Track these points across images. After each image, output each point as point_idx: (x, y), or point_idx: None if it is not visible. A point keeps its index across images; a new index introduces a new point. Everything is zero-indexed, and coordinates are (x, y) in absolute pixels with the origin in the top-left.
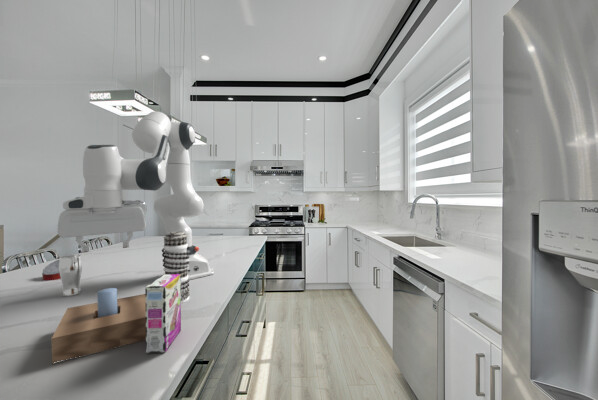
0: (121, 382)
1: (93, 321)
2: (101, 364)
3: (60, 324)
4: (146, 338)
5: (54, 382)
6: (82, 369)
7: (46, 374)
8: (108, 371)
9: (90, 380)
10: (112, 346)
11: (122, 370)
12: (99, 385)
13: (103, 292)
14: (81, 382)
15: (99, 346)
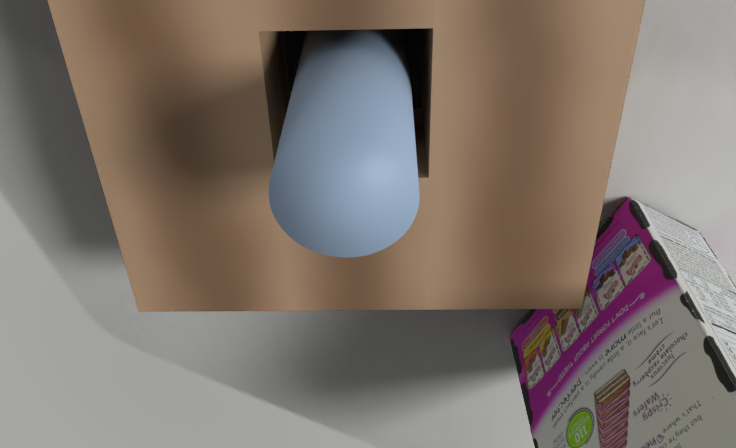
0: (421, 427)
1: None
2: (356, 319)
3: (103, 162)
4: (522, 385)
5: (227, 344)
6: (296, 317)
7: None
8: (383, 366)
9: (335, 383)
10: None
11: (425, 381)
12: (364, 413)
13: (320, 228)
14: (310, 379)
15: None
